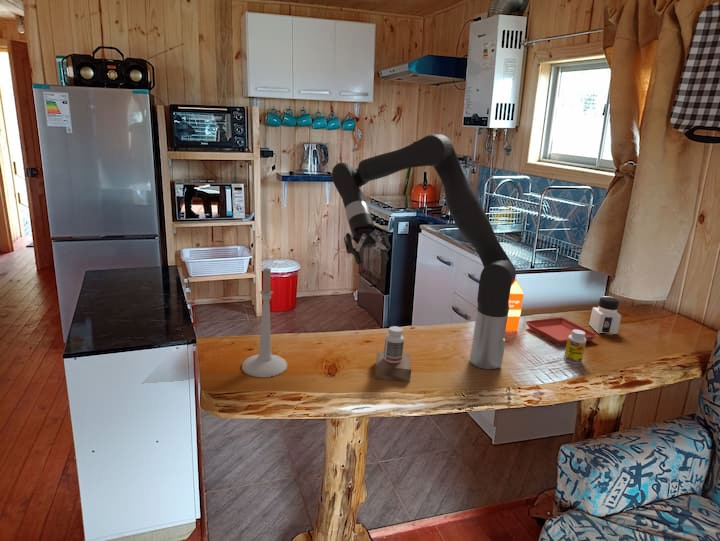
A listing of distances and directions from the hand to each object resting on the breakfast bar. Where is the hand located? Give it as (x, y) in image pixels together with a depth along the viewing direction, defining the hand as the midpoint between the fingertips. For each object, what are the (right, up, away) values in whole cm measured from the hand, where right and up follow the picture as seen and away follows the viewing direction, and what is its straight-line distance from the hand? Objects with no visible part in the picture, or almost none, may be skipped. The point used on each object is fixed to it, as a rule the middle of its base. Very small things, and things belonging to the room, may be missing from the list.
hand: (373, 263), depth 160 cm
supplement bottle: (+65, -32, +12) cm, 74 cm away
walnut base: (+5, -32, -5) cm, 33 cm away
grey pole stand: (-32, -30, -8) cm, 44 cm away
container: (+88, -25, +40) cm, 100 cm away
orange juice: (+49, -23, +35) cm, 65 cm away
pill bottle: (+5, -28, -6) cm, 30 cm away
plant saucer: (+68, -26, +32) cm, 80 cm away
